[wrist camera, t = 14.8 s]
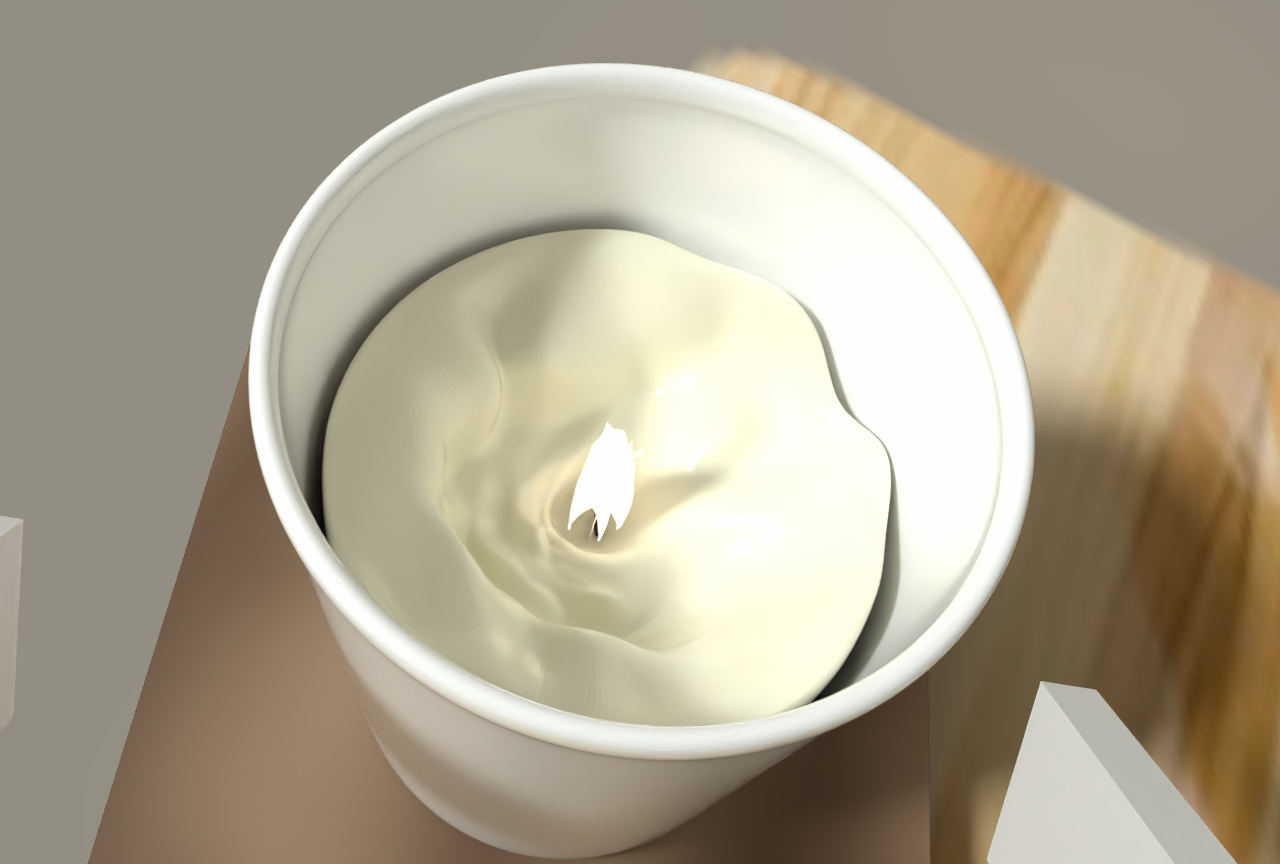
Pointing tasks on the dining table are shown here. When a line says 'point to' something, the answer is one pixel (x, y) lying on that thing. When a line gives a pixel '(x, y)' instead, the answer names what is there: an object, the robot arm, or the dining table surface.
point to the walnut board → (354, 763)
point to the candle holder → (631, 442)
